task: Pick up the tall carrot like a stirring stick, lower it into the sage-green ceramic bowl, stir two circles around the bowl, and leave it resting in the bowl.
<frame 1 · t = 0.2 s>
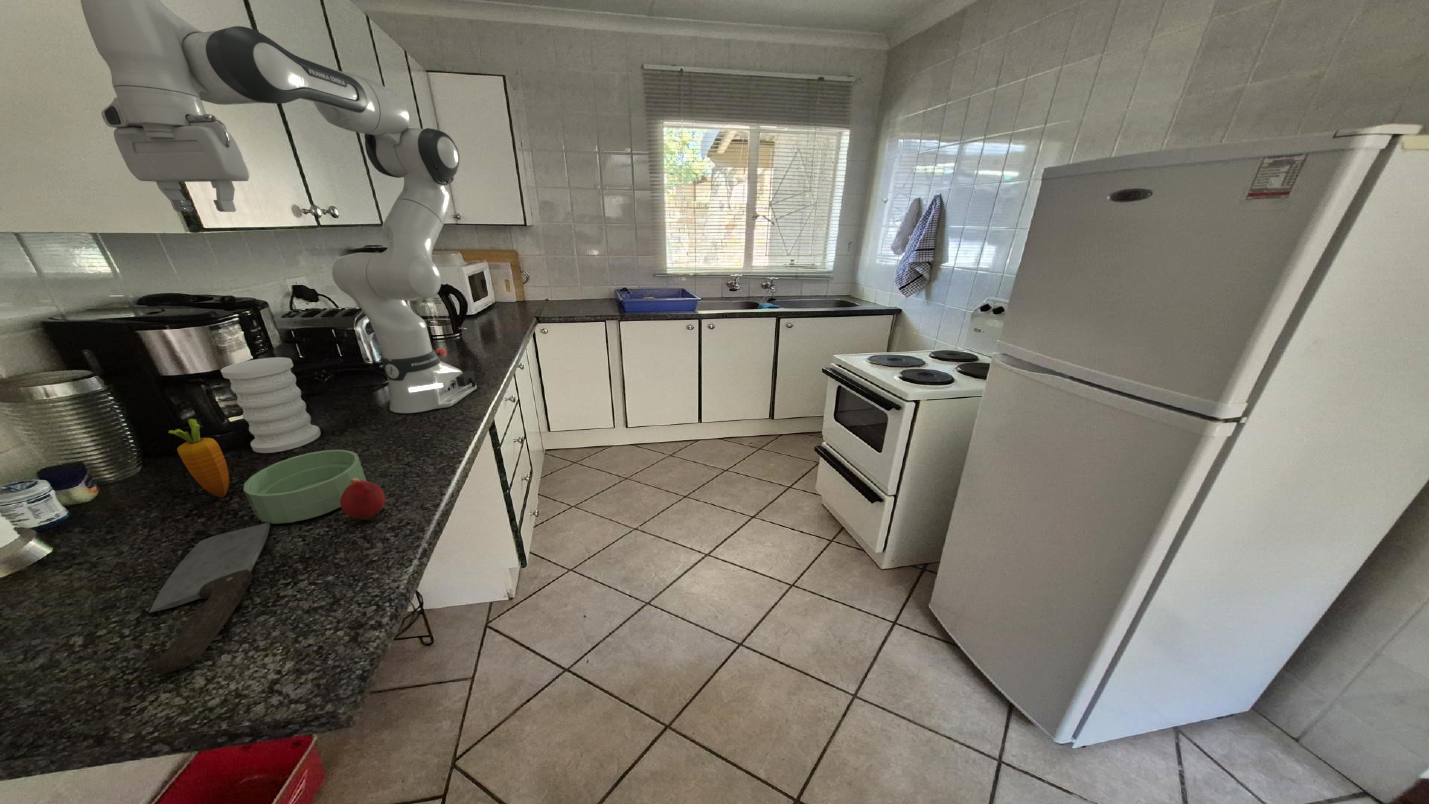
hand: (205, 211, 75), 48 cm above the worktop, tool pointing down, fingers open, 8 cm apart
bowl: (315, 499, 80), on the worktop
decorative container: (288, 441, 101), on the worktop
cleaver: (209, 593, 60), on the worktop
carrot: (223, 498, 81), on the worktop
onion: (370, 519, 75), on the worktop
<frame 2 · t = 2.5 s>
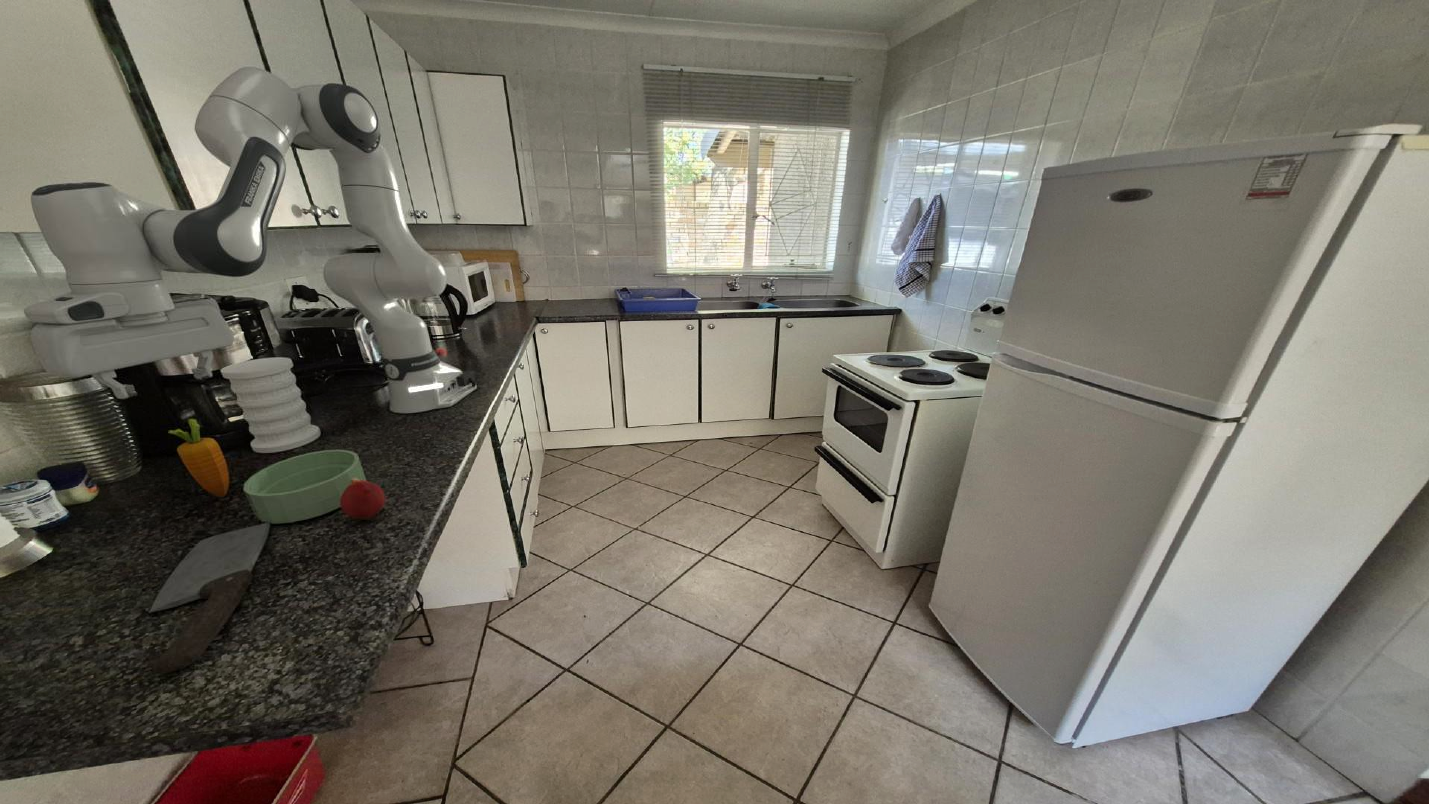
hand: (168, 387, 72), 21 cm above the worktop, tool pointing down, fingers open, 8 cm apart
nothing on the worktop moved.
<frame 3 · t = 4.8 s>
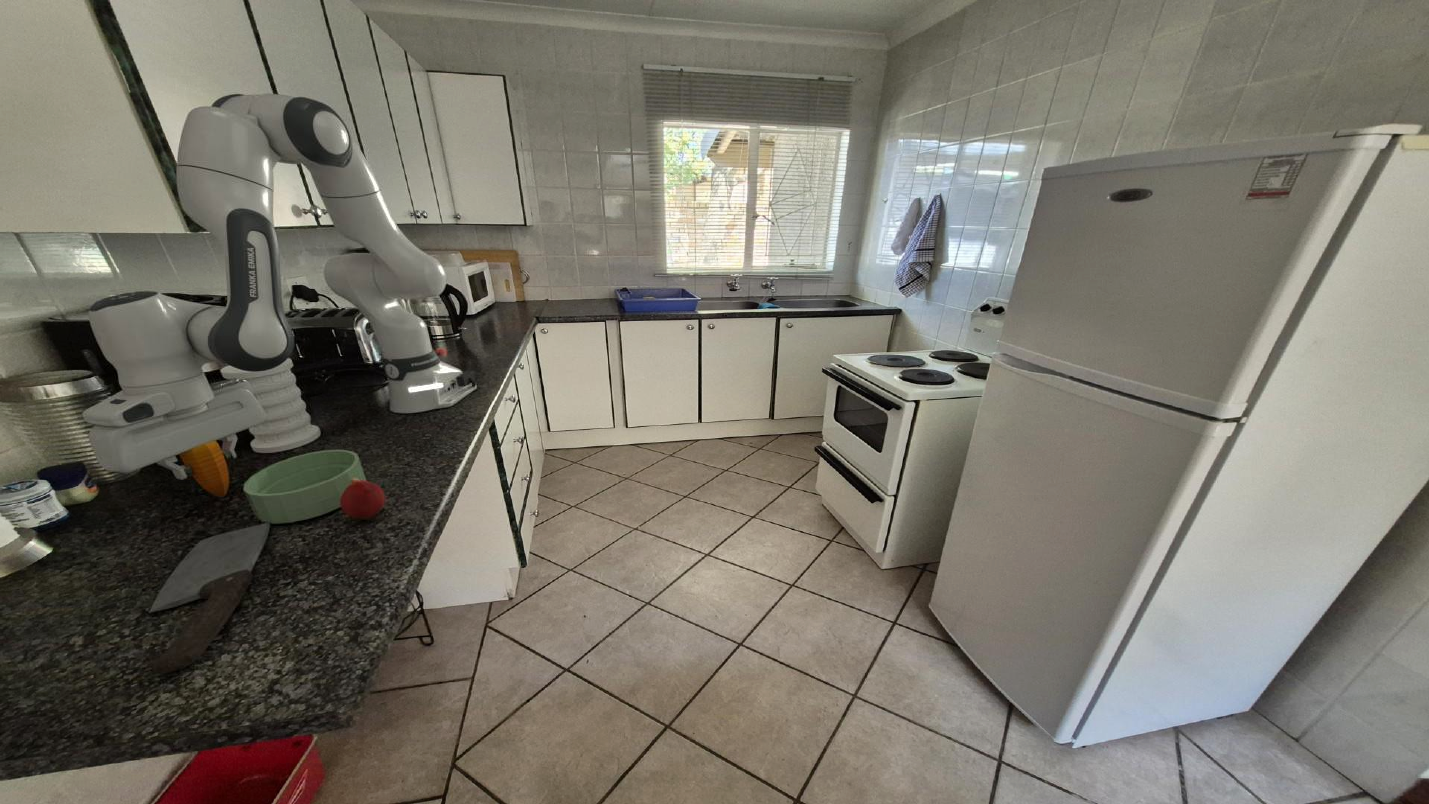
hand: (208, 468, 78), 6 cm above the worktop, tool pointing down, fingers closed on carrot, 5 cm apart
carrot: (223, 498, 81), on the worktop, touching gripper
everything else where it was.
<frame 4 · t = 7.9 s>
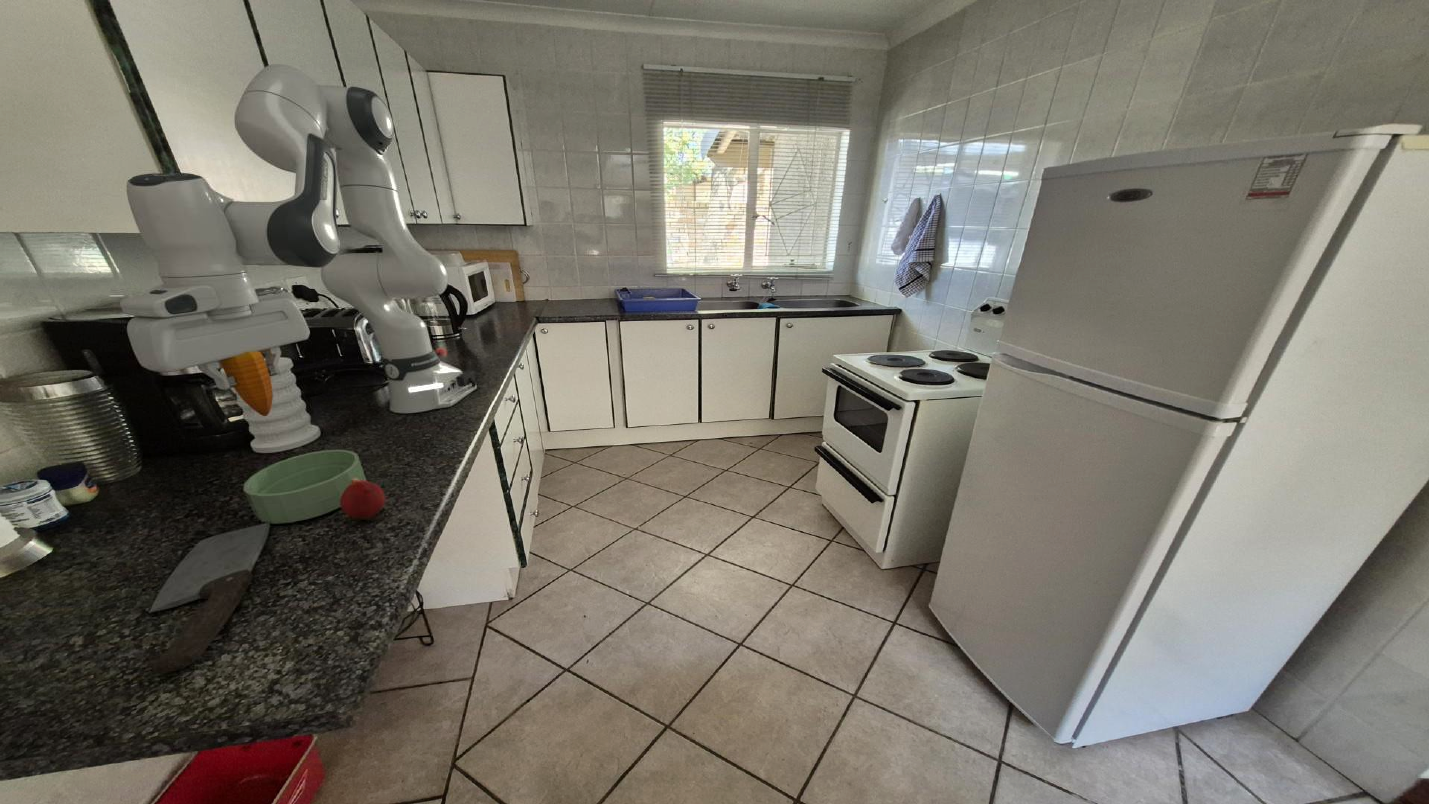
hand: (250, 381, 72), 23 cm above the worktop, tool pointing down, fingers closed on carrot, 5 cm apart
carrot: (266, 416, 74), point 16 cm above the worktop, touching gripper
everything else where it was.
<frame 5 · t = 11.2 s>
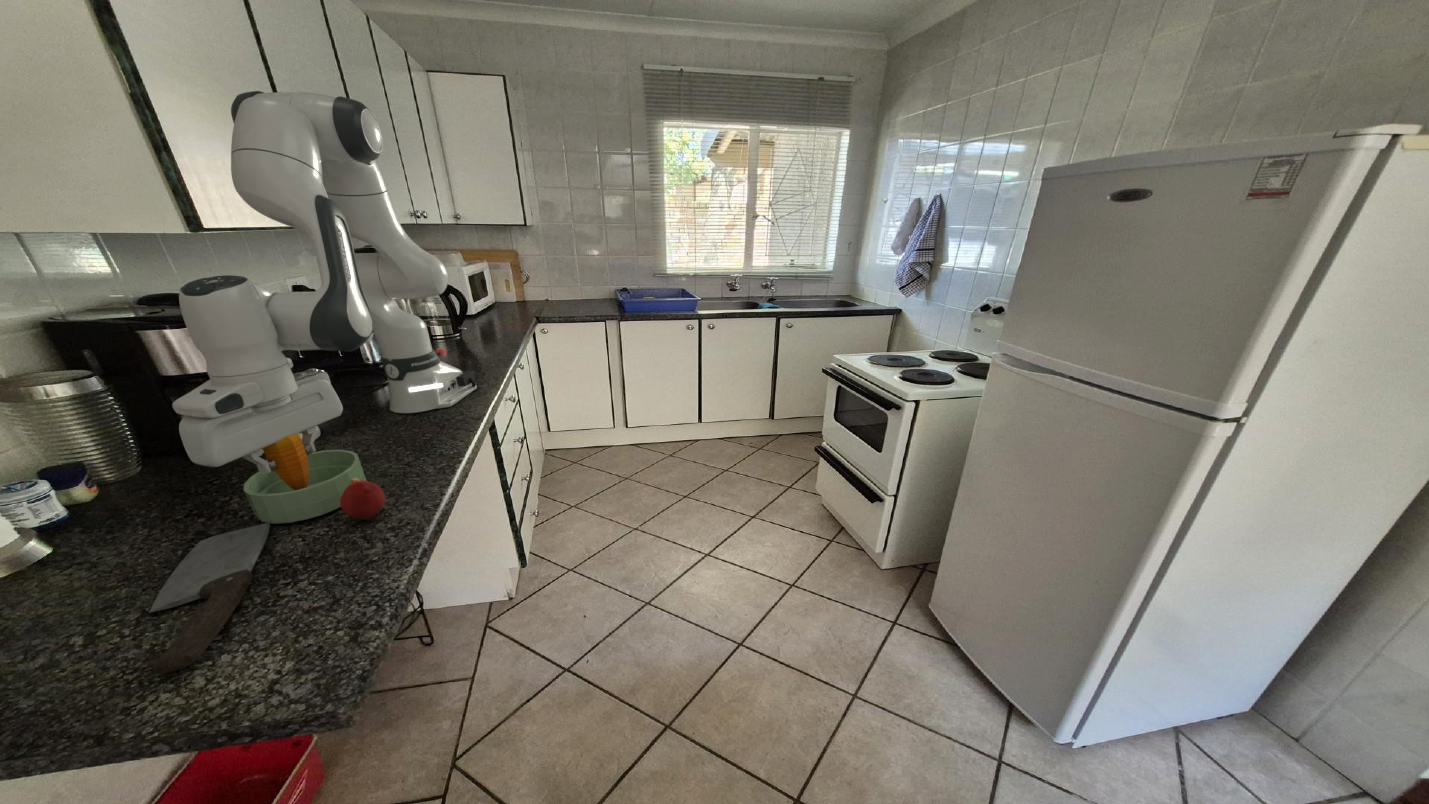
hand: (289, 462, 75), 9 cm above the worktop, tool pointing down, fingers closed on carrot, 5 cm apart
carrot: (303, 493, 77), point 3 cm above the worktop, touching gripper
everything else where it was.
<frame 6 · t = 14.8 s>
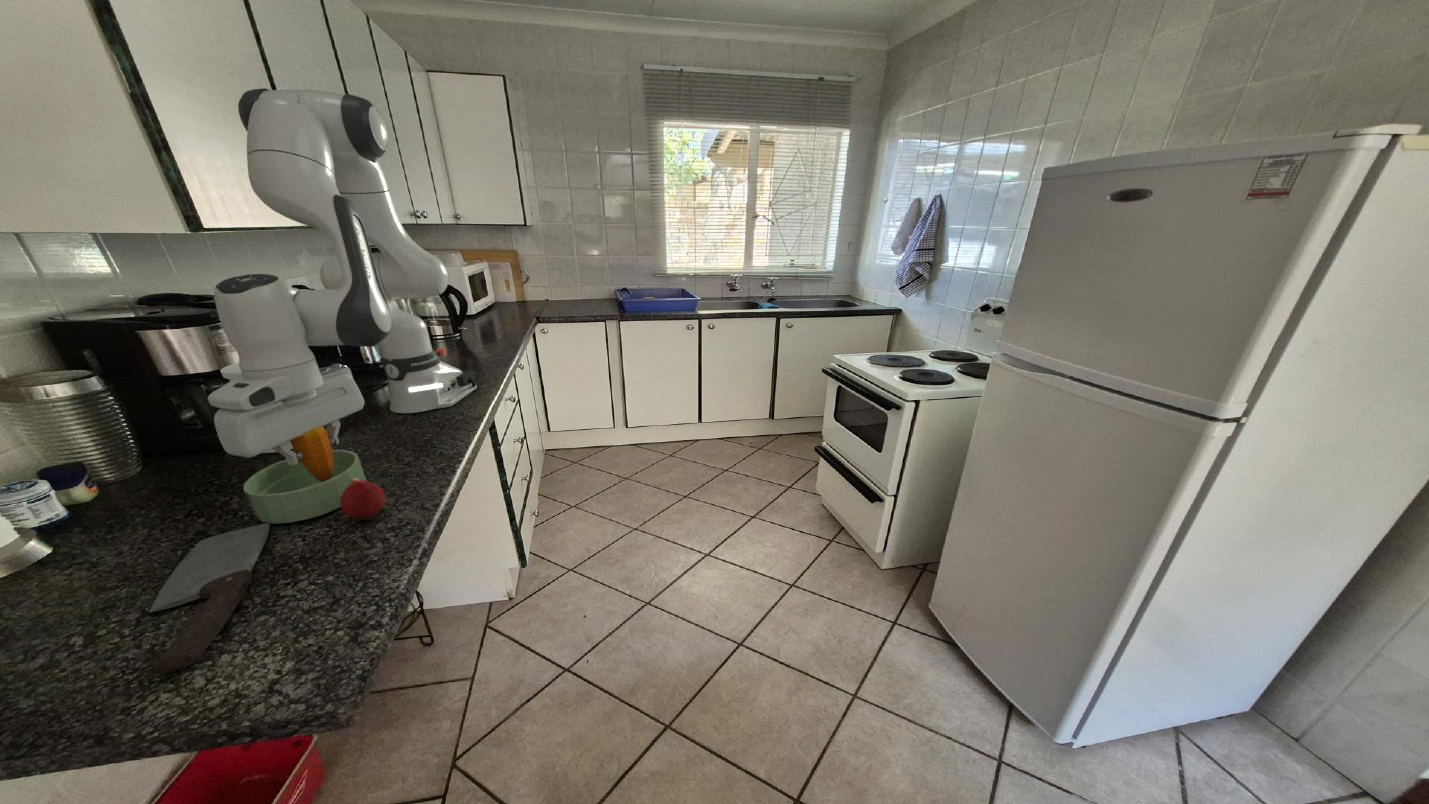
hand: (314, 453, 78), 9 cm above the worktop, tool pointing down, fingers closed on carrot, 5 cm apart
carrot: (327, 484, 80), point 2 cm above the worktop, touching gripper
everything else where it was.
when the fingers open (7 cm above the worktop, at t = 17.9 s): carrot stays where it is, resting in bowl.
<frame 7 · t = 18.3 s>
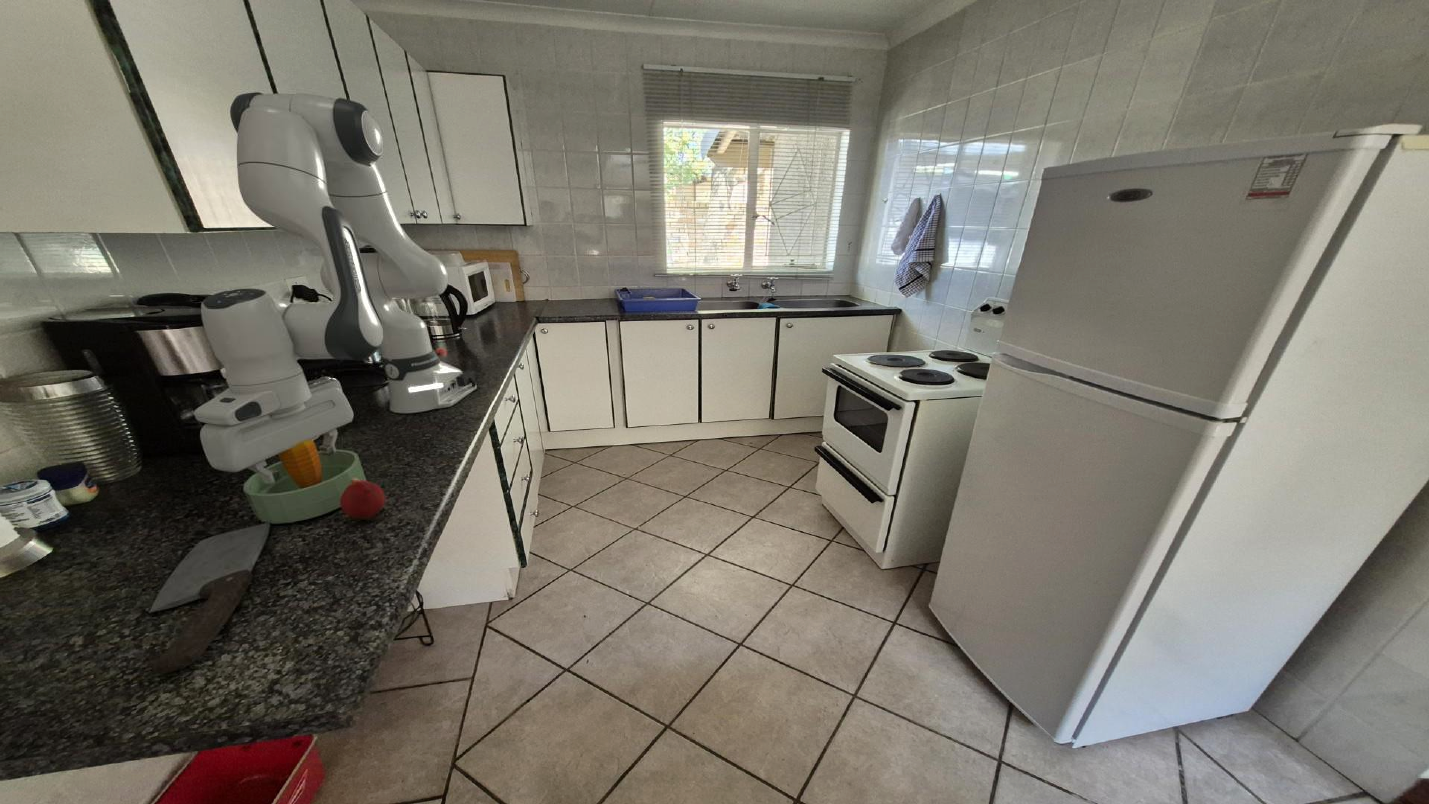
hand: (302, 467, 78), 7 cm above the worktop, tool pointing down, fingers open, 8 cm apart
carrot: (315, 497, 80), resting in bowl
everything else where it was.
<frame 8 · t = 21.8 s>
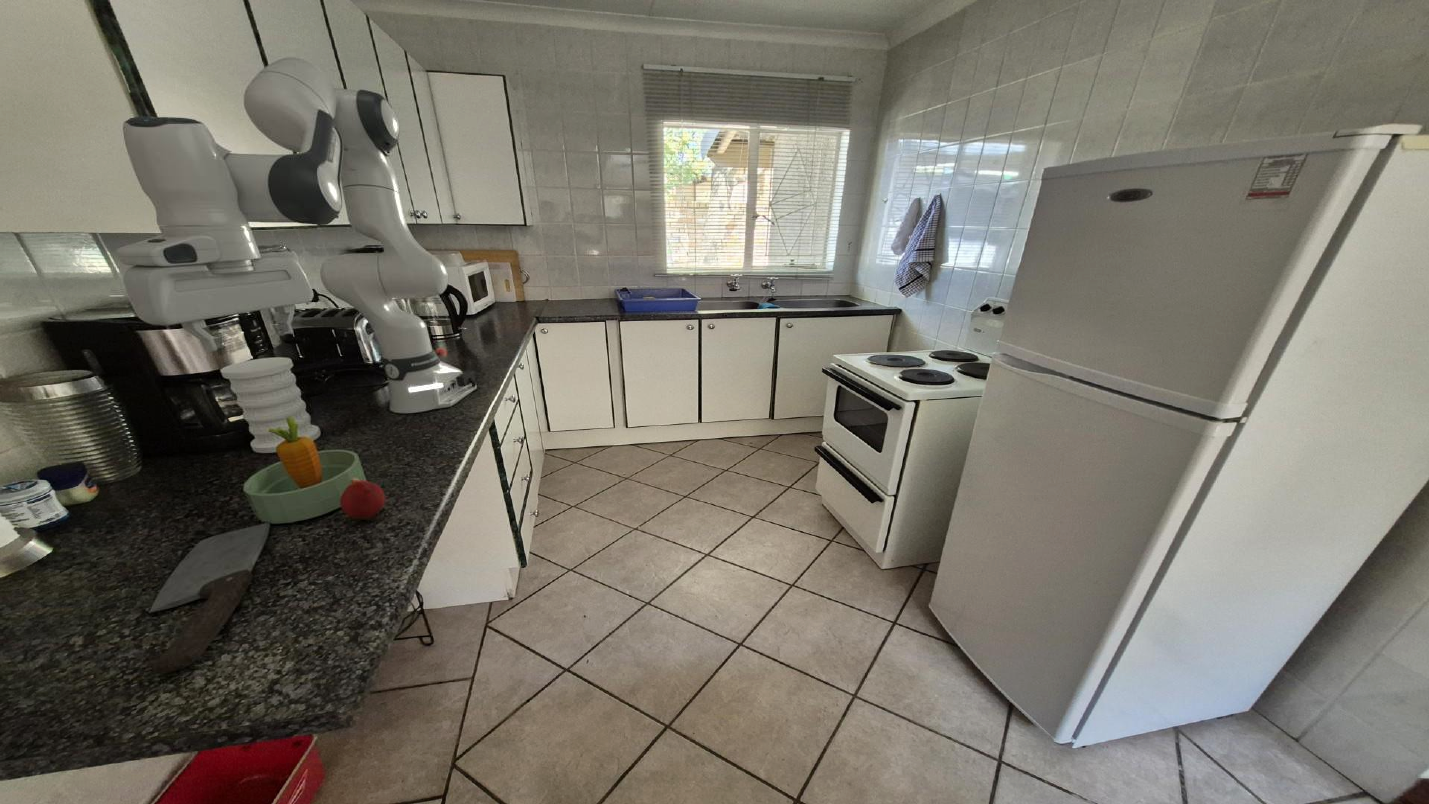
hand: (252, 341, 69), 29 cm above the worktop, tool pointing down, fingers open, 8 cm apart
carrot: (315, 497, 80), resting in bowl
everything else where it was.
at the end: carrot inside the target area in the bowl (0.1 cm from its centre), point 0.4 cm above the bowl's base; the gripper is holding nothing; carrot moved 17.3 cm from its start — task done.
